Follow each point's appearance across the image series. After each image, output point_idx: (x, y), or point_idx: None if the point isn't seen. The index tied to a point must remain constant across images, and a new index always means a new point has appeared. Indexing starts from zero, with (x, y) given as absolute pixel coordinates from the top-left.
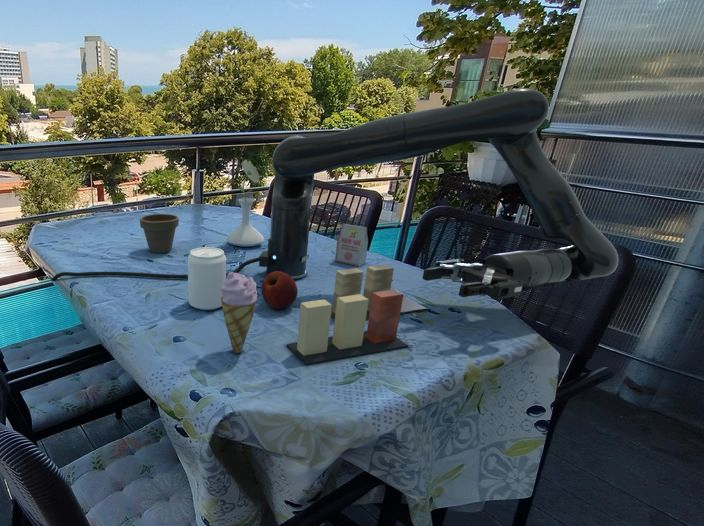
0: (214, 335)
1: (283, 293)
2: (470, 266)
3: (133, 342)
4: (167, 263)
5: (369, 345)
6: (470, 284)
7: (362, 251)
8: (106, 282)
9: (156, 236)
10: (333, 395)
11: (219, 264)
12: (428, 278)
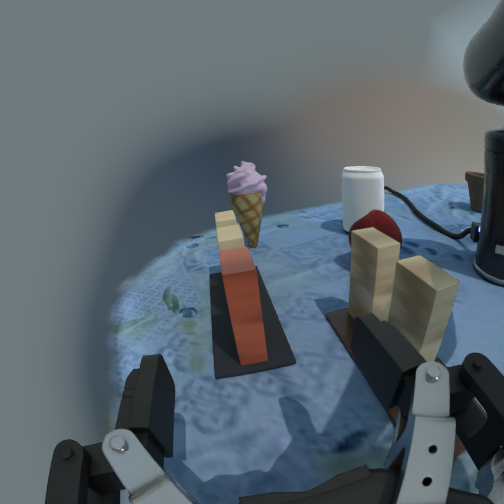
0: (288, 236)
1: (350, 236)
2: (398, 496)
3: (279, 215)
4: (454, 213)
5: (231, 328)
6: (139, 376)
7: None
8: (389, 200)
9: (470, 189)
10: (153, 285)
11: (348, 180)
12: (358, 354)
